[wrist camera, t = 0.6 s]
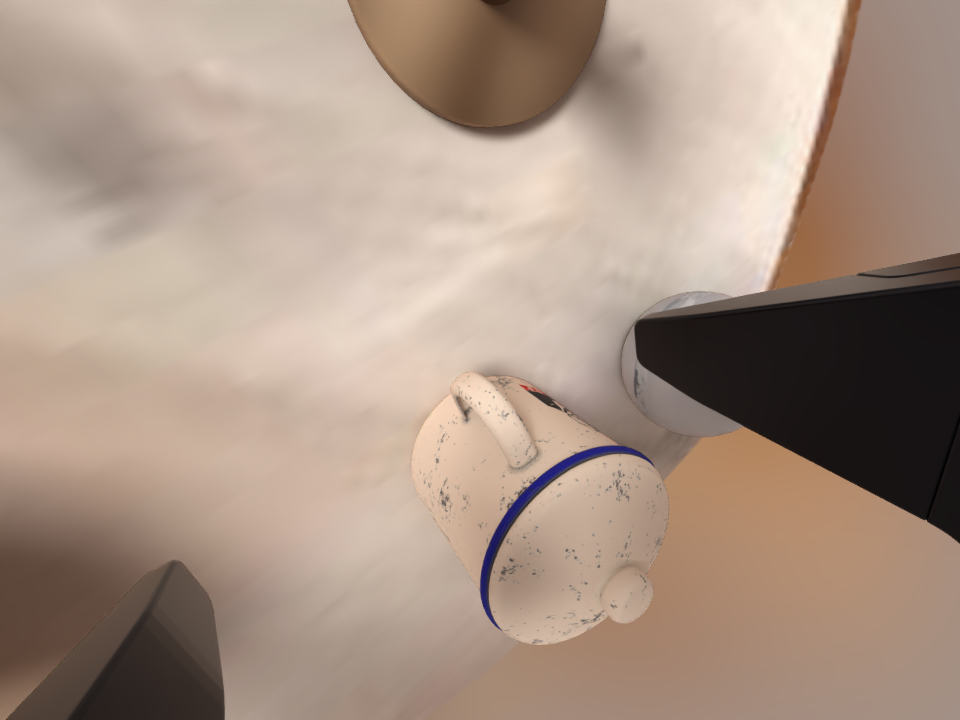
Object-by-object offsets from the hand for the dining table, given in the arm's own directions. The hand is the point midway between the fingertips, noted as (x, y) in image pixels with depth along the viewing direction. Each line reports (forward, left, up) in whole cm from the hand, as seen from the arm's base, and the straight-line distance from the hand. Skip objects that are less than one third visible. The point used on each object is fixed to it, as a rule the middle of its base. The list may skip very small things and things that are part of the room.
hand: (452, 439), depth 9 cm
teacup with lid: (+8, -8, -13) cm, 17 cm away
